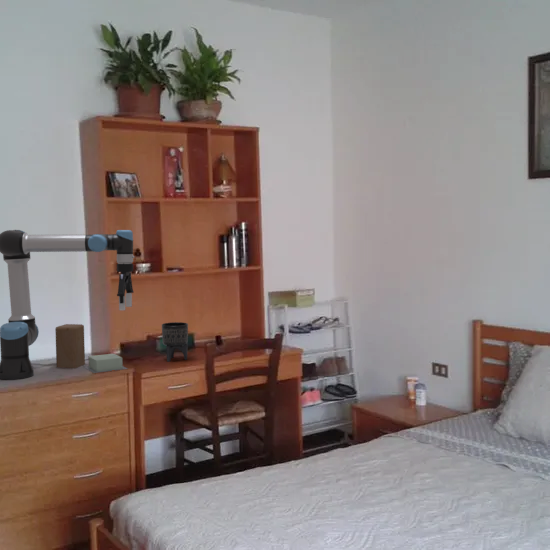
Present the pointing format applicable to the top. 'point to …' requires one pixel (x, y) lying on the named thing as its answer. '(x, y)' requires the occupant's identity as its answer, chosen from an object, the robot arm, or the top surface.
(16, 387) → the top surface
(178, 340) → the planter
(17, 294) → the robot arm
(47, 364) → the top surface
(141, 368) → the top surface
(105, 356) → the base brick
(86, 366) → the plate
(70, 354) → the wooden block
